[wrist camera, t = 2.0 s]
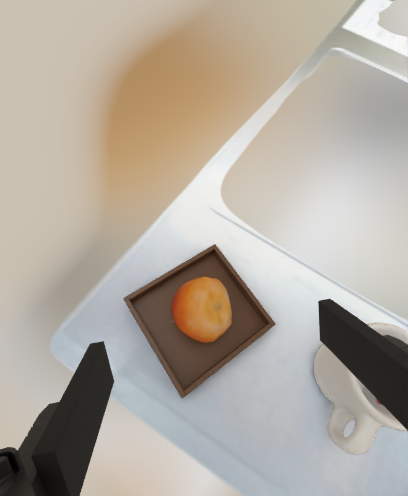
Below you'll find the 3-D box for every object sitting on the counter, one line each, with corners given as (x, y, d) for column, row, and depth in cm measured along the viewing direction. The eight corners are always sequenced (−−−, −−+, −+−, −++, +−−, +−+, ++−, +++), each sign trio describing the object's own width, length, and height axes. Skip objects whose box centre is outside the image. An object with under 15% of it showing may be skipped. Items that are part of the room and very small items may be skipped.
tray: (181, 396, 33) (182, 398, 31) (125, 302, 37) (123, 298, 35) (269, 326, 38) (275, 324, 36) (212, 250, 42) (215, 243, 40)
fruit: (164, 275, 37) (198, 263, 32) (207, 292, 41) (245, 285, 35) (149, 333, 34) (185, 333, 28) (198, 347, 38) (238, 348, 32)
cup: (352, 464, 33) (426, 501, 23) (279, 411, 34) (321, 426, 25) (382, 361, 38) (451, 357, 29) (319, 320, 40) (365, 304, 30)
